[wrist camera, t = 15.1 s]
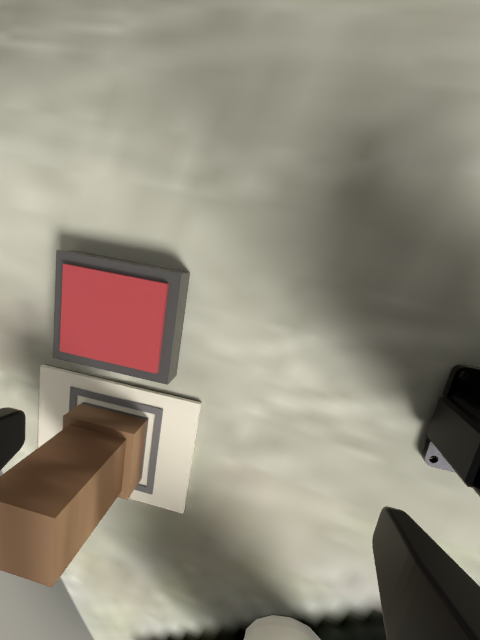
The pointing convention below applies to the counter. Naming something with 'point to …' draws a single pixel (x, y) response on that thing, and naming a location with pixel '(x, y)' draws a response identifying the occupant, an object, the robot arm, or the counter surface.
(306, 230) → the counter surface
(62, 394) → the paper sheet
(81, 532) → the stamp
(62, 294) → the ink pad
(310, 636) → the foam cup
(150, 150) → the counter surface
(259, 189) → the counter surface
